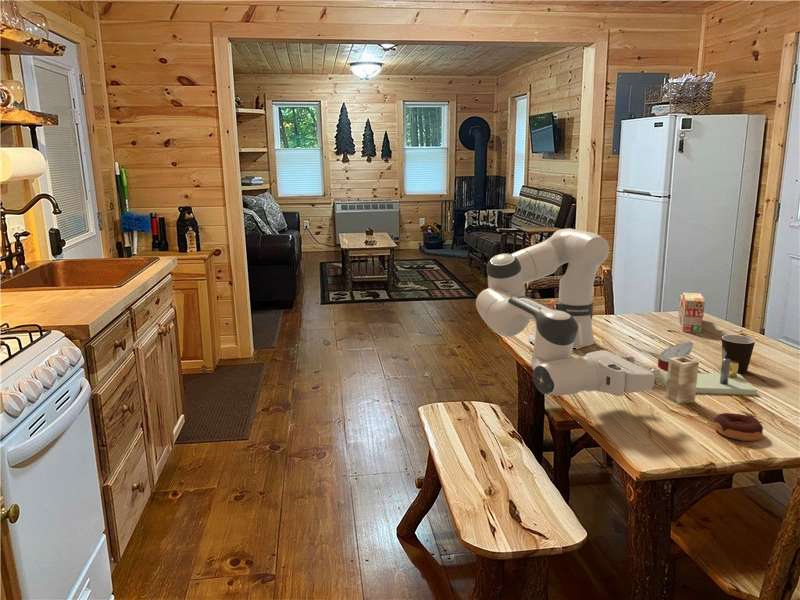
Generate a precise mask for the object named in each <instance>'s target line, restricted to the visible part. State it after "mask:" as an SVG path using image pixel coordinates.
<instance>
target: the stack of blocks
mask: <svg viewBox="0 0 800 600" xmlns="http://www.w3.org/2000/svg"><path fill="white" fill-rule="evenodd" d="M705 304H706V300H705V298H704V296H703V295H702V294H701V293H700V292H699V293H697V292H683V293H682V294H680V295H679V304H678V321H679V324H680V328H681V331H682V333H693V334H696V333H697V334H701V333H702V329H703V318H704V311H705Z"/></svg>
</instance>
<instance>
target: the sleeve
mask: <svg viewBox="0 0 800 600" xmlns="http://www.w3.org/2000/svg"><path fill="white" fill-rule="evenodd" d="M688 357H689V356H688ZM688 357H685V356H682V357H675V358H669V364H668V371H667V372H668V374H667V385H666V386H665V387H666V388H665V395H664V396H665V398H667V399H668V400H670V401H672V402H674V403H676V404H678V405H681V404H689V403H695V400H696V394H697V393H696V384H697V375H698V373H699V366H700V365H699V364H700V362H699V361H697V360H694V359H693V358H692V359H690V358H688Z"/></svg>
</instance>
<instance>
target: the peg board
mask: <svg viewBox="0 0 800 600" xmlns="http://www.w3.org/2000/svg"><path fill="white" fill-rule="evenodd" d="M667 374H668V371H665V370H660V374H659V376H658V378H659V379H660V380H661V381H662V383H663V385H664V386H665V387H666V385H667ZM720 375H721V372H698V375H697V384H696V394H718V395H719V394H720V395H721V394H723V395H741V396H742V395H743V396H744V395H747V396H748V395H749V396H757V395H758V389H757V387H755V386H754V385H753V384H751V383H750V382H749V381H748V380H747V379H745V378H744V377H743V375H740V374H737V378H728V384H727V385H724V384H720Z"/></svg>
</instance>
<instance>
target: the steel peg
mask: <svg viewBox="0 0 800 600" xmlns="http://www.w3.org/2000/svg"><path fill="white" fill-rule="evenodd" d="M730 362H731V359H728V358H723V359H722V358H721V367H720V373H721V375H720V384H724V385H727V384H728V378H729V370H730Z"/></svg>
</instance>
